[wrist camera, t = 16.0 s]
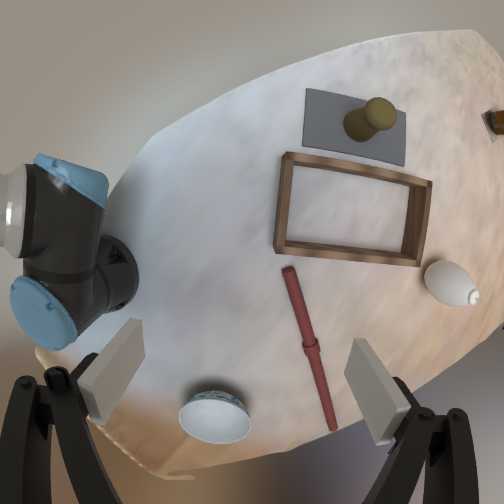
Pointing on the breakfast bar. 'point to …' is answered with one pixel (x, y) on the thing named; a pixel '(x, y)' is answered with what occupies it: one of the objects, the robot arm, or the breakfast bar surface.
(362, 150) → the charcoal mat
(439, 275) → the white bulb air blower
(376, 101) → the olive dumbbell shape
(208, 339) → the breakfast bar surface
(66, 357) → the breakfast bar surface
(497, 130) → the condiment
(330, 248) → the wooden box
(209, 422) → the chinaware
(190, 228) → the breakfast bar surface
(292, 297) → the red rod with collar
